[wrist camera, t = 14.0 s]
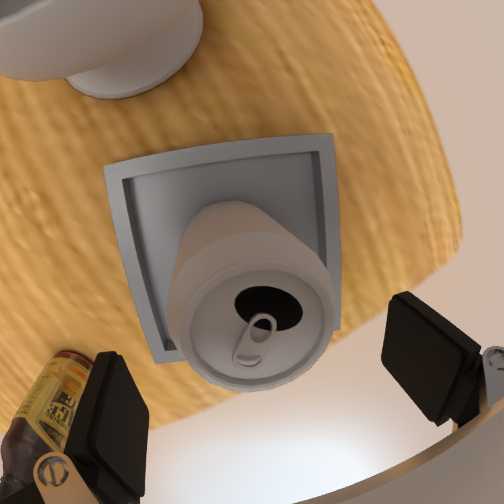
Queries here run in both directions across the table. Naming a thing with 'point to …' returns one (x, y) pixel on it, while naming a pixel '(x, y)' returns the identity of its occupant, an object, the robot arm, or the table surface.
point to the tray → (212, 191)
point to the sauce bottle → (42, 419)
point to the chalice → (98, 42)
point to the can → (248, 299)
